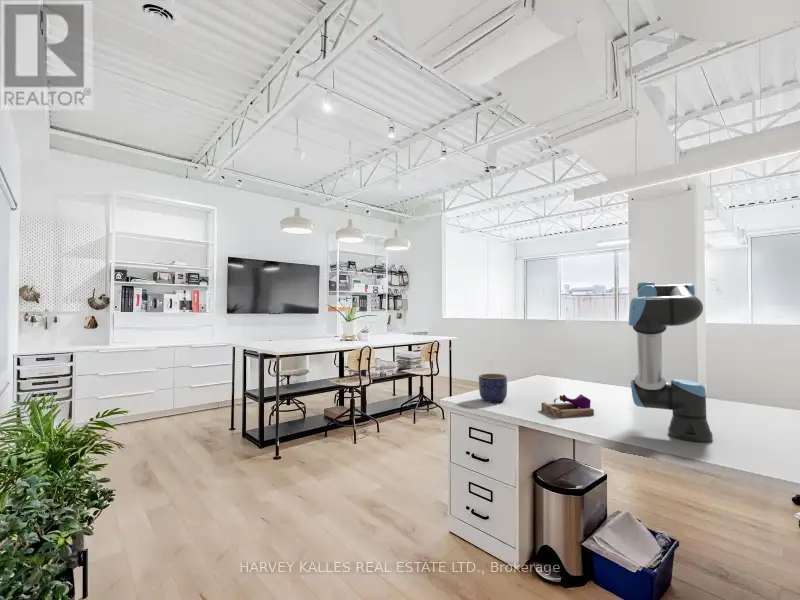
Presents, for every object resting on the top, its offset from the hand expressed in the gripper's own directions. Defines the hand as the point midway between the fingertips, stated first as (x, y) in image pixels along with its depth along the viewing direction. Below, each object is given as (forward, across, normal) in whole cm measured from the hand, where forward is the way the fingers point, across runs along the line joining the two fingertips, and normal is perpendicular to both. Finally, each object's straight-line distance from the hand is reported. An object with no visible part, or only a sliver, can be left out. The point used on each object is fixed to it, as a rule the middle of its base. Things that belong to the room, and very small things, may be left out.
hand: (648, 359), depth 197 cm
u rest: (+28, +36, -15) cm, 48 cm away
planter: (+29, +63, -49) cm, 85 cm away
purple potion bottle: (+24, +23, -16) cm, 37 cm away
